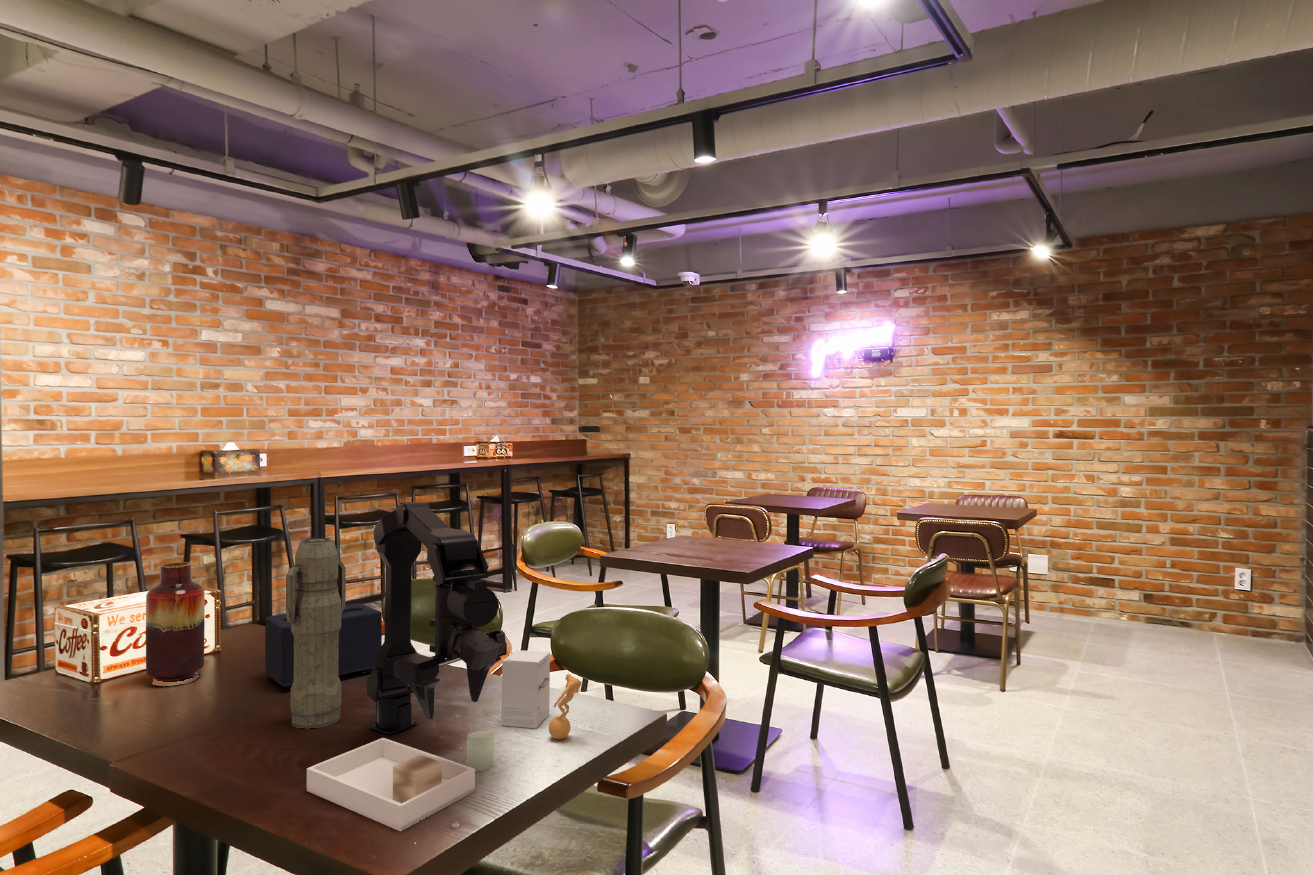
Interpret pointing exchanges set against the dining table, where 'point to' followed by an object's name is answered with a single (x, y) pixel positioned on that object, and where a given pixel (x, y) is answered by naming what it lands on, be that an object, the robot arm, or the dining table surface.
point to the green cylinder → (480, 750)
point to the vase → (175, 625)
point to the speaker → (355, 643)
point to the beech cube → (415, 777)
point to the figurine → (561, 724)
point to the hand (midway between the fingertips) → (452, 710)
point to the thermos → (315, 632)
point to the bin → (386, 783)
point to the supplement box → (525, 688)
